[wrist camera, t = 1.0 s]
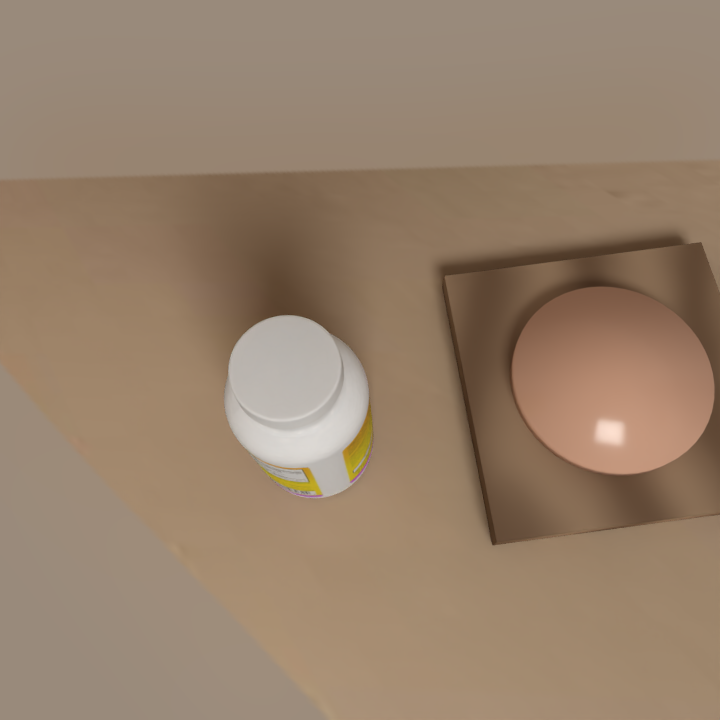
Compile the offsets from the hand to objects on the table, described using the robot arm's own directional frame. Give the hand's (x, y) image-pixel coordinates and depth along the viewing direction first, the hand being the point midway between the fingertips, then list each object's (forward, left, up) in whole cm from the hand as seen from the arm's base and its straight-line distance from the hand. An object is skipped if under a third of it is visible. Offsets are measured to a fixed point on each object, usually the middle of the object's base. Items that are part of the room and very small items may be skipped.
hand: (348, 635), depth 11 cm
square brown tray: (-15, -11, -27) cm, 32 cm away
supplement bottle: (+2, -10, -27) cm, 29 cm away
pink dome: (-15, -11, -25) cm, 31 cm away
